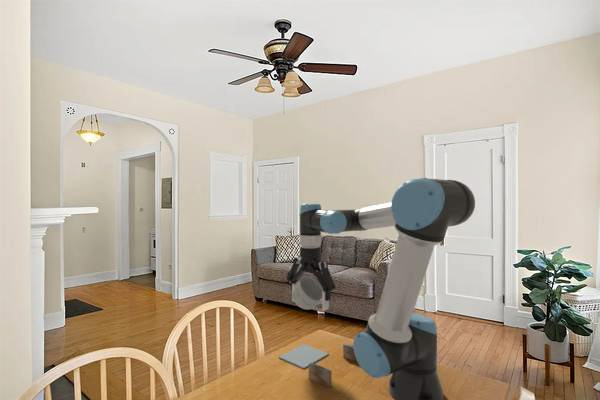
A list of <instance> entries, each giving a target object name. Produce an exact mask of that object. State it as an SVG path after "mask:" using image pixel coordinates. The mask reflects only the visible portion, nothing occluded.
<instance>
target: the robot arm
mask: <svg viewBox="0 0 600 400" xmlns="http://www.w3.org/2000/svg"><path fill="white" fill-rule="evenodd" d="M475 208H476V199H475V196H474V193H473V191H472V190H471V189H470V187H469V186H468V185H466V184H465V183H463V182H461V181H459V180H454V179H438V178H437V179H436V178H427V177H421V178H413V179H412V178H411V179H409V180H407V181H406V182H404V183H402V184H401V185H399V187H398V188H397V189H396V190H395V192H394V194H393V196H392V199H391V201H390V202H386V203H380V204H376V205H370V206H366V207H361V208H355V209H322V205H321V204H320V203H302V204H301V205H300V208H299V209H300V211H299V212H300V213H299V246H300V247H299V256H298V257H294V258H293V264H292V266H291V268H290V271H289V273H288V275H287V278H286V280H287V281H289V282H290V291H291V292H292V289H293V287H294V286H295V284H296V283H297V282H298V281H299V280H300V279H301V278H302V277H303V276H304V274H305V273H308V274H313V275H314V276H315V278H316V279H317V280H318V281H317V282H318V283H319V284H320V285H321V287H322V289H323V291H322V304H321V305H322V308H321V309H322V310H326V311H327V310H328V309H329V310H330V301H331V298H332V297H331V294H332V293H331V291H334V290H336V289H337V287H336V284H335V282H334V279H333V277H332V275H331V272H330V270H329V267H328V261H323V262H321V261H320V259H321V257H322V255H321V253H322V249H321V244H322V243H321V242H322V241H321V240H322V237H321V236H322V233H327V234H330V235H333V234H334V235H335V234H336V235H337V234H340V233H345V232H358V231H359V232H361V231H367V230H373V229H379V228H387V227H388V228H389V227H394V229H395V230H396V232H397V234H398V238H397V241H396V244H395V248H394V250H393V254H392V259H391V260H390V261H391V262H390V265H389V269H388V272H387V276H386V280H385V282H384V286H383V290H382V293H381V296H380V300H379V303H378V307H377V310H376V313H374V314H371V315H370V316H369V318H368V321H367V323H366V327H365V330H364V331H361V332H358V333H357V334H356V335H355V336H354V339H353V345H352V346H353V348H354V353H355V356H356V359H357V361H358V362H357V363H358V365H359V366H360V368H361V370H363V371H364V373H366V375H368V376H370V377H371V378H374V379H380V378H384V377H389V376H390V375H391V376H390V379H389V382H388V392H389V395H390V397H392V398H393V399H394V400H444V389H443V386H442V384H441V380H440V377H439V374H438V371H437V370H438V367H437V366H438V364H437V363H438V361H437V359H438V355H437V353H438V352H437V351H438V346H437V345H438V332H437V331H438V330H437V329H438V328H437V327H438V326H437V322H435V320H434V319H432V318H430V317H429V316H427V315H423V314H420V313H419V314H418V313H415V312H414V311H415V309H416V308H415V307H416V304H417V302H418V299H419V295H420V291H421V289H422V286H423V283H424V280H425V277H426V274H427V271H428V267H429V264H430V261H431V258H432V255H433V252H434V248H435V246H437V245H439V244H441V243H443V242H444V240H445V237H446V235H447V231H448V229H449V228H448V227H454V226H458V225H461V224H463V223H465V222H466V221H468V220H469V219H470V218H471V217H472V215H473V213H474V211H475ZM291 301H292V302H294V300H293V297H292V296H291ZM294 303H295V302H294Z"/></svg>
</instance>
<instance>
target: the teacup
mask: <svg viewBox="0 0 600 400" xmlns="http://www.w3.org/2000/svg"><path fill="white" fill-rule="evenodd" d="M322 291H324V289H323V287H322V286H321V284H320V282H319V281H317V280H316V279H315V278H313V277H312V276H309V275H302V276H301V277H300V278H299V280H298V282H296V284H295V286H294V287H293V289H292V291H291V298H292V297H293V300H294V303H295V304H296V305H297V307H299V308H300V309H302V310H307V311H308V310H313V311H317V312H320V313H324V312H326V311H327V310H322V308H320V307H318V306H319V305H322Z"/></svg>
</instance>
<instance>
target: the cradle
mask: <svg viewBox="0 0 600 400" xmlns="http://www.w3.org/2000/svg"><path fill="white" fill-rule="evenodd" d="M342 348H343V349H342V357H343V358H345V359H347V360H350V361H352V362H355V363H358V361H357V359H356V356H355V353H354V348H353V345H352V344H349V343H347V342H346V343H343V344H342ZM332 373H333V371H332V370H331V369H329V368H326V367H324V366H321V365H318V364H316V363H310V364H309V367H308V379H309V380H311V381H313V382H315V383H317V384H320V385H322V386H324V387H327V388H328V389H329V388H331V387H332V385H333V384H332V383H333V381H332V380H333V379H332Z"/></svg>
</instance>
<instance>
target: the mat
mask: <svg viewBox="0 0 600 400" xmlns="http://www.w3.org/2000/svg"><path fill="white" fill-rule="evenodd" d="M329 355H330V353H328V352H326V351H324V350H321V349H319V348H315V347H313V346H310V345H308V344H305V343H304V344H302V345H299V346H298V347H296V348H293V349H292V350H290V351H287V352H285V353H283V354H281V355H280V356H278V358H279V360H282V361H284V362H287V363H289V364H292V365H293V366H296V367H297V368H301V369H303V370H305V369H308V368H309V364H310V363H314V364H316V363H318V361H320V360H322V359H324V358H325V357H327V356H329Z"/></svg>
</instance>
